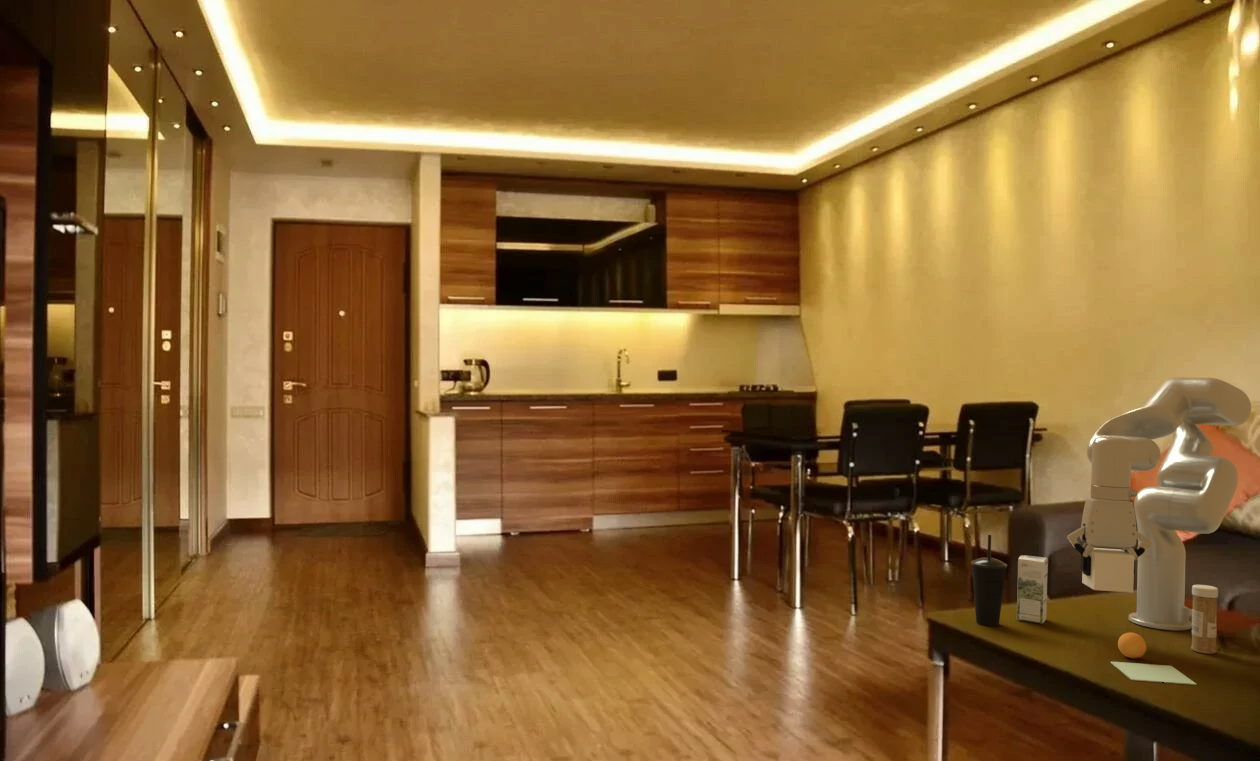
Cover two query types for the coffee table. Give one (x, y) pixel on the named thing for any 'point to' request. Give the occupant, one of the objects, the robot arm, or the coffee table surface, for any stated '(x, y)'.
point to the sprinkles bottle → (1204, 619)
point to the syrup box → (1032, 589)
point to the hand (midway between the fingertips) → (1107, 575)
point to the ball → (1132, 645)
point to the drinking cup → (988, 588)
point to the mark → (1152, 673)
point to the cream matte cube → (1110, 570)
